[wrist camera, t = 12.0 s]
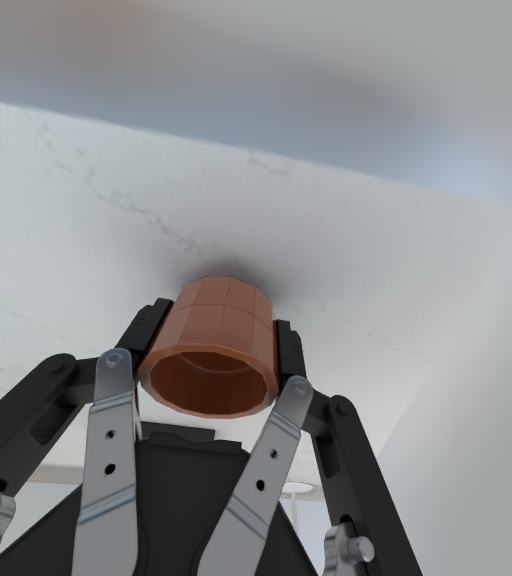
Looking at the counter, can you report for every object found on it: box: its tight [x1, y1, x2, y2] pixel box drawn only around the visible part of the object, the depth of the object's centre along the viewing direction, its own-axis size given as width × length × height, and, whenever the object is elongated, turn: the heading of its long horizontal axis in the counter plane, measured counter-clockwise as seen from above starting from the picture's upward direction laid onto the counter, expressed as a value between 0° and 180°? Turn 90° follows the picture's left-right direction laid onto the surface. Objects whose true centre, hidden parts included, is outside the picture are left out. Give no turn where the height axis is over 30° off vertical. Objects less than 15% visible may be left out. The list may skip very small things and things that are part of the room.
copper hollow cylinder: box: [138, 277, 279, 419], centre depth 12 cm, size 6×6×5 cm
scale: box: [140, 422, 215, 443], centre depth 32 cm, size 14×12×3 cm
